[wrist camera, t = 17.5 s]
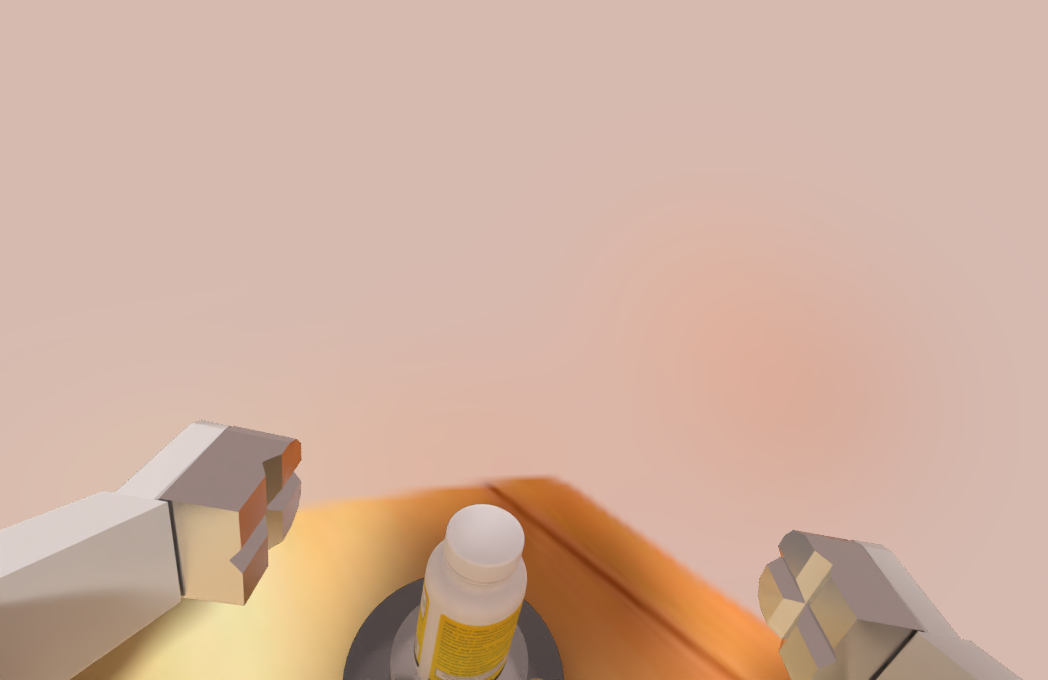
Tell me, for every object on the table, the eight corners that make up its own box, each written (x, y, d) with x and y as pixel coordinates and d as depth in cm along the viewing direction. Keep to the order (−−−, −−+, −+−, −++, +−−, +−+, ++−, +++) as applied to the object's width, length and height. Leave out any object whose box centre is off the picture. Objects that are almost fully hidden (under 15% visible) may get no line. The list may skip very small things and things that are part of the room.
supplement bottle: (524, 664, 29) (560, 546, 25) (447, 727, 25) (475, 602, 21) (469, 595, 32) (493, 480, 28) (394, 642, 29) (409, 519, 25)
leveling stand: (287, 733, 26) (286, 705, 25) (421, 556, 37) (425, 531, 36) (510, 882, 23) (521, 857, 22) (583, 638, 34) (593, 614, 33)
